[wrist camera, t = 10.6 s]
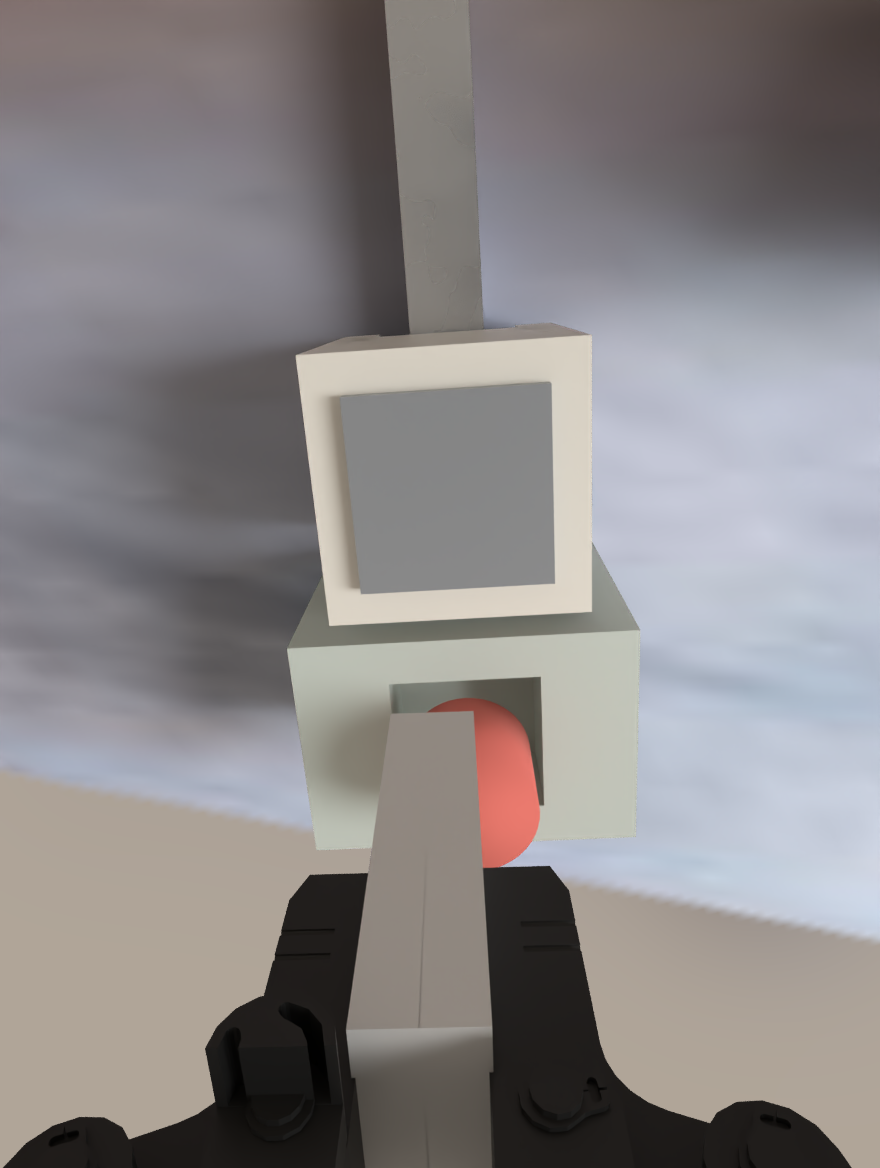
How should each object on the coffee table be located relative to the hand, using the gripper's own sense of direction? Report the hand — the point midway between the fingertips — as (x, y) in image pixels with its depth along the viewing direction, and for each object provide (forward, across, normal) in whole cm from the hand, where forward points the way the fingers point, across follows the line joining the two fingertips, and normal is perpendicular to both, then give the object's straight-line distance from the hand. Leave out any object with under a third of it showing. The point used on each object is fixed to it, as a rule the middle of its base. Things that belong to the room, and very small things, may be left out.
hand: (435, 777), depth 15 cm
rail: (+17, 0, +8) cm, 19 cm away
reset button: (+8, +1, -4) cm, 9 cm away
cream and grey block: (+16, +1, +4) cm, 16 cm away
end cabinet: (+17, +1, -4) cm, 18 cm away
